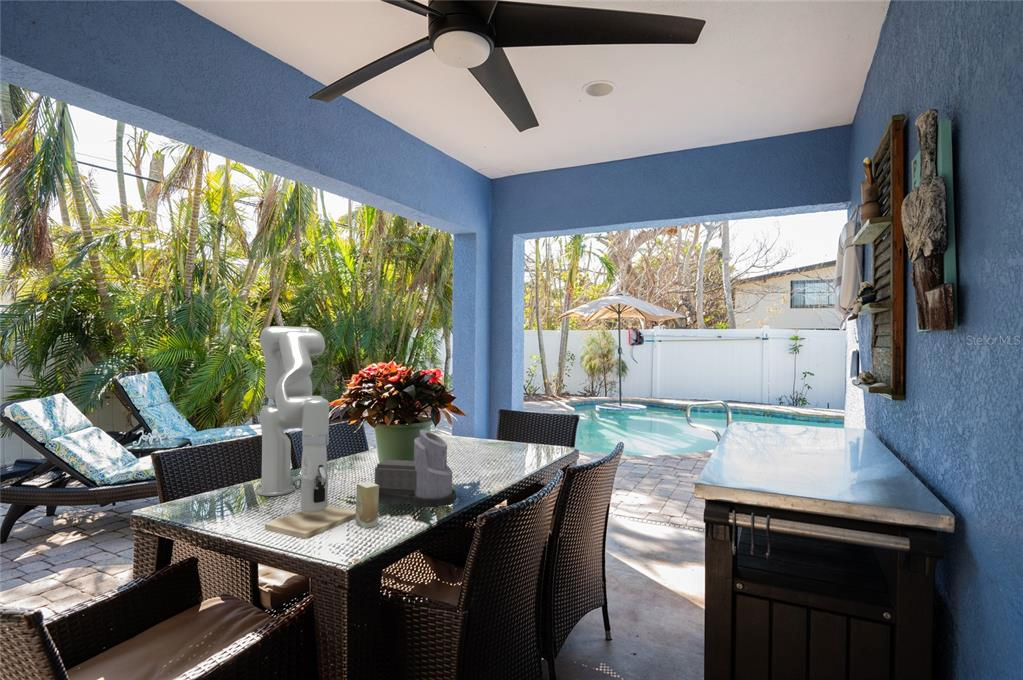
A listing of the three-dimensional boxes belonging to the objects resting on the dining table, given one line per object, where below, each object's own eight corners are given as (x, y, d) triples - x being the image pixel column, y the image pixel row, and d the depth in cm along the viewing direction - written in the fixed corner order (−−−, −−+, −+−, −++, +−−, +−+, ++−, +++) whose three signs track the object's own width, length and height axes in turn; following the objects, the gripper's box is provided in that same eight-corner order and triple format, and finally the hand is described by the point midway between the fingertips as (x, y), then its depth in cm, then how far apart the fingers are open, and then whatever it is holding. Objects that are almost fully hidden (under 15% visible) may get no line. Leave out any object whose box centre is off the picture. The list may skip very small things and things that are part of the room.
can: (311, 505, 167) (311, 466, 167) (332, 507, 165) (332, 468, 166) (295, 512, 160) (296, 471, 160) (317, 514, 158) (318, 473, 158)
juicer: (464, 496, 193) (465, 427, 193) (453, 509, 178) (454, 435, 178) (383, 491, 198) (384, 424, 198) (366, 504, 182) (367, 431, 182)
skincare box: (354, 523, 163) (355, 482, 163) (367, 520, 166) (368, 480, 166) (365, 529, 158) (366, 487, 158) (378, 525, 161) (379, 484, 161)
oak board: (321, 508, 176) (321, 504, 176) (359, 516, 169) (360, 511, 169) (264, 529, 156) (264, 524, 156) (305, 538, 149) (305, 533, 149)
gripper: (293, 437, 167) (292, 494, 167) (312, 446, 154) (311, 508, 154) (318, 434, 172) (317, 490, 172) (338, 443, 158) (337, 503, 158)
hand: (314, 498), depth 163 cm, fingers closed on can, 7 cm apart
